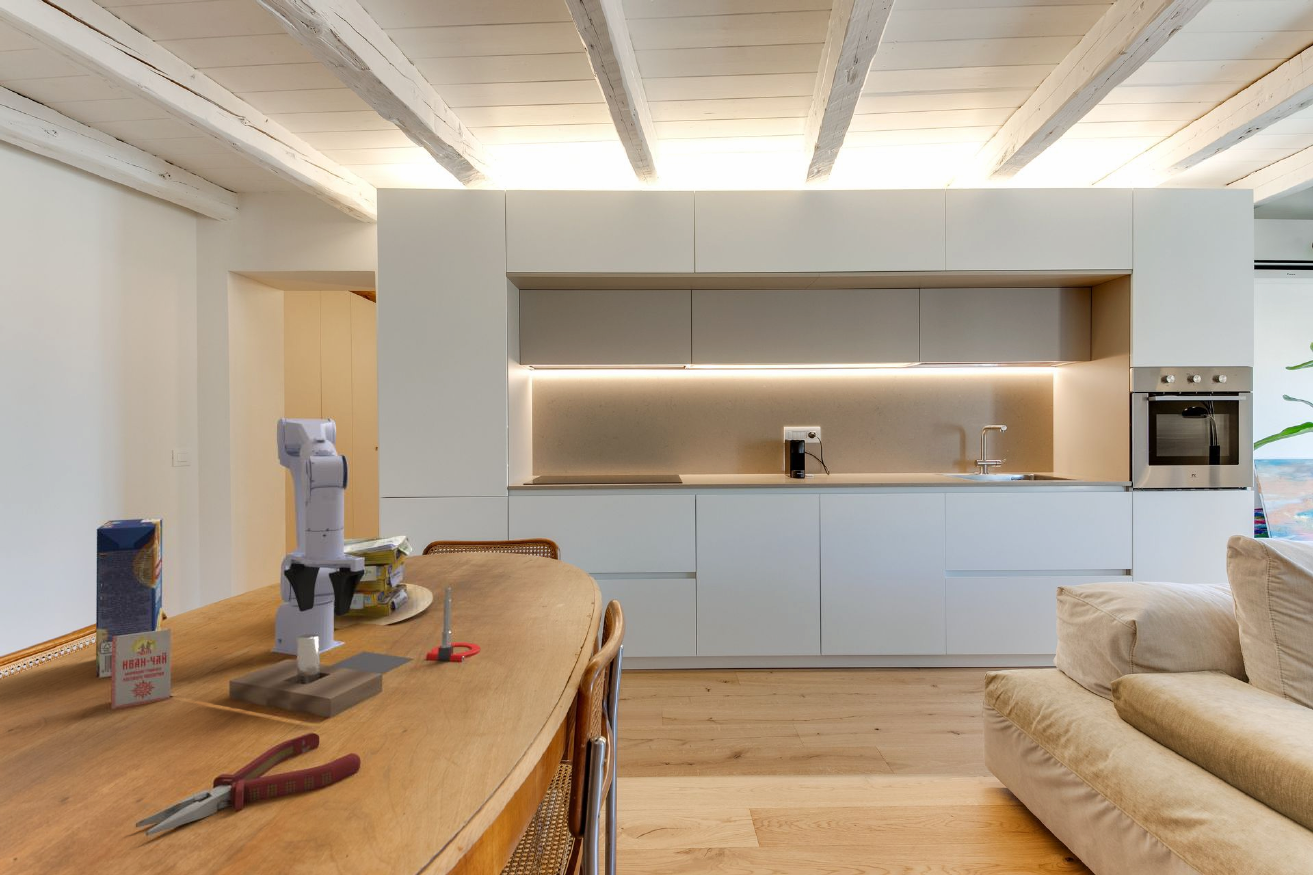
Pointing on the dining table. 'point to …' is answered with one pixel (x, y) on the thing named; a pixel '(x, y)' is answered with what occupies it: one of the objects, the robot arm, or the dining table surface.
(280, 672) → the hole block
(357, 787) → the dining table surface
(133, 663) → the tea bag
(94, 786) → the dining table surface
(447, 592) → the tow hook
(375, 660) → the mat
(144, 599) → the juice carton
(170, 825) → the pliers
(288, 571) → the robot arm
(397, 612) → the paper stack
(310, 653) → the peg
